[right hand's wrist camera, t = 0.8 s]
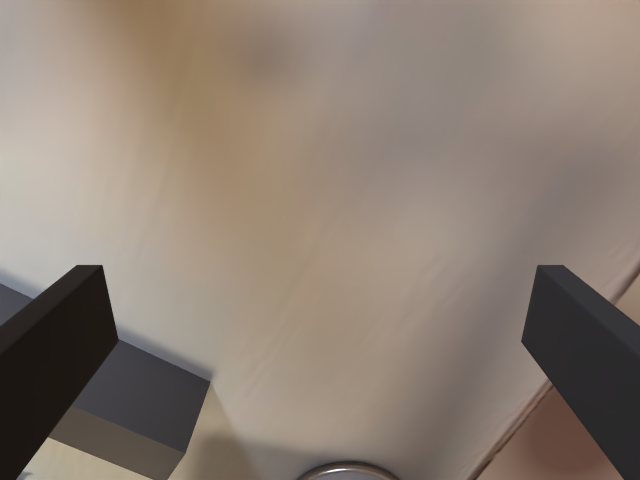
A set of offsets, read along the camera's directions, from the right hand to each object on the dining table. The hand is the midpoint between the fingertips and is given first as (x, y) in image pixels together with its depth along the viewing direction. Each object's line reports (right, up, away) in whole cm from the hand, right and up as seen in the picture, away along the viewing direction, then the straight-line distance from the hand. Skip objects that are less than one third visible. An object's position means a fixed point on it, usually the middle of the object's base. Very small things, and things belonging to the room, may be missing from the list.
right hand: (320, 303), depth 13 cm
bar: (-24, -8, +29) cm, 39 cm away
